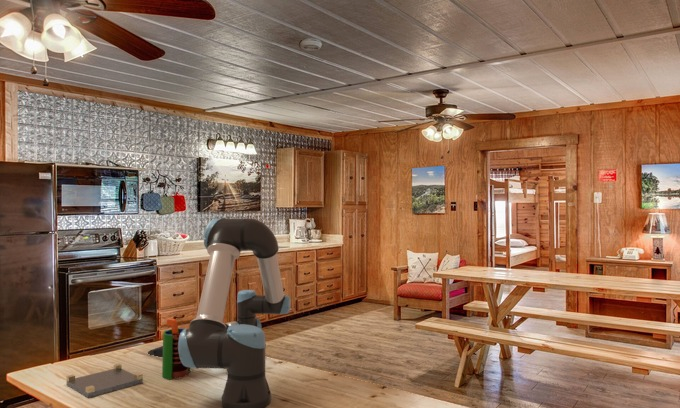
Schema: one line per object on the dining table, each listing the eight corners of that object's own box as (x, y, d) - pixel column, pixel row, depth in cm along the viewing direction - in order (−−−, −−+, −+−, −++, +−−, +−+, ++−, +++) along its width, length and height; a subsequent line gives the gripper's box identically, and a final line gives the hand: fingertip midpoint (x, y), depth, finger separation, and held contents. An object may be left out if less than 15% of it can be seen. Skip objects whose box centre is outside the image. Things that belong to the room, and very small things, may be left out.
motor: (179, 380, 170) (179, 323, 171) (156, 378, 172) (156, 322, 172) (193, 371, 180) (193, 317, 181) (171, 369, 182) (172, 316, 182)
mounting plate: (142, 382, 168) (142, 374, 168) (88, 398, 154) (88, 388, 154) (118, 371, 180) (119, 363, 180) (66, 384, 166) (66, 376, 166)
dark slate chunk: (206, 345, 216) (206, 335, 216) (173, 360, 195) (173, 348, 195) (177, 342, 221) (177, 332, 221) (142, 356, 201) (142, 344, 201)
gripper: (246, 348, 185) (197, 360, 169) (208, 336, 202) (161, 347, 186) (246, 328, 186) (197, 339, 170) (209, 318, 202) (161, 328, 186)
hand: (178, 343), depth 178 cm, fingers open, 13 cm apart
